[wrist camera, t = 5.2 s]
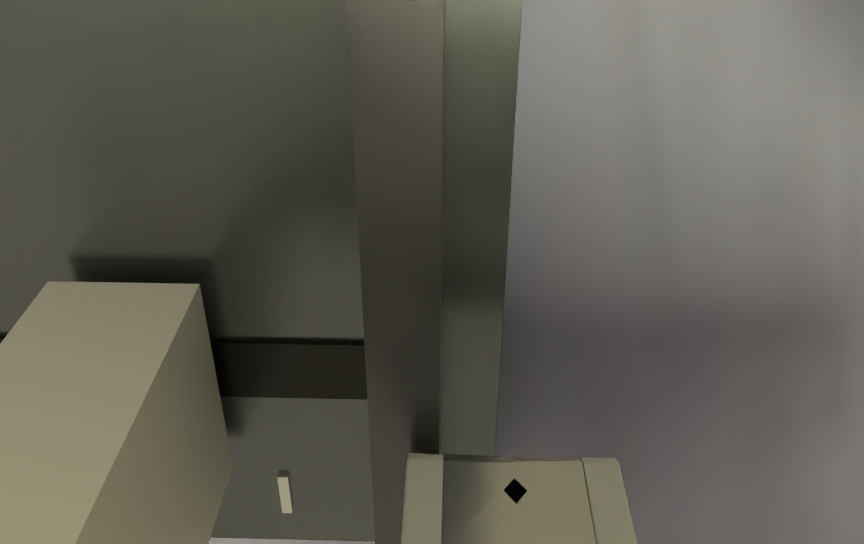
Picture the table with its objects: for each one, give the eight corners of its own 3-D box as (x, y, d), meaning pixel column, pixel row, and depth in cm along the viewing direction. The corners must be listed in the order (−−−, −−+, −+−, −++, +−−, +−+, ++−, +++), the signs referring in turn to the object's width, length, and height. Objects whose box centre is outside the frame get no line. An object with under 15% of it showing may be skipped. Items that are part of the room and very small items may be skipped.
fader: (199, 283, 13) (68, 556, 8) (232, 465, 15) (141, 756, 11) (48, 281, 13) (-159, 551, 9) (102, 463, 15) (-40, 751, 11)
